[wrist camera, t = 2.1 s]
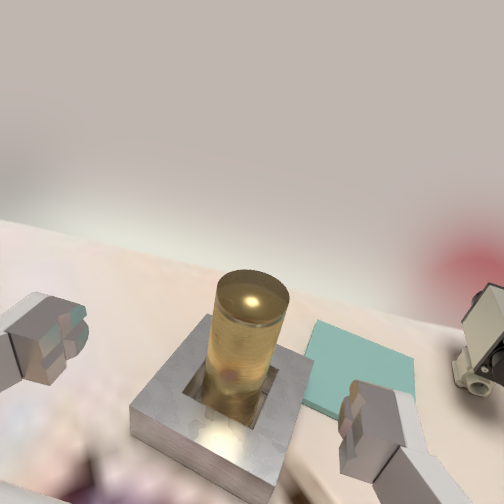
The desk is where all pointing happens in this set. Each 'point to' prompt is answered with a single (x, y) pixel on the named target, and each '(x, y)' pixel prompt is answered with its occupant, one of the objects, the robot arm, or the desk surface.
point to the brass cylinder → (242, 342)
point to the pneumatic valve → (482, 343)
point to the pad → (351, 367)
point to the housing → (221, 419)
